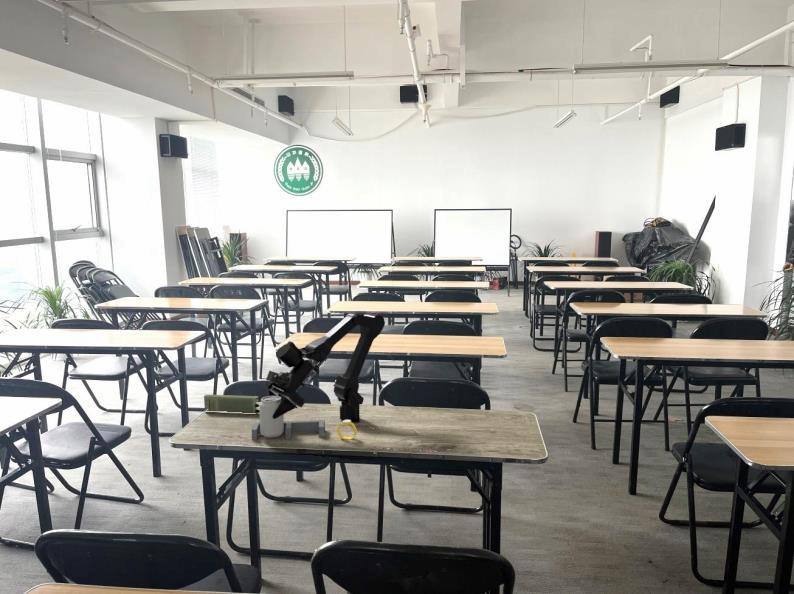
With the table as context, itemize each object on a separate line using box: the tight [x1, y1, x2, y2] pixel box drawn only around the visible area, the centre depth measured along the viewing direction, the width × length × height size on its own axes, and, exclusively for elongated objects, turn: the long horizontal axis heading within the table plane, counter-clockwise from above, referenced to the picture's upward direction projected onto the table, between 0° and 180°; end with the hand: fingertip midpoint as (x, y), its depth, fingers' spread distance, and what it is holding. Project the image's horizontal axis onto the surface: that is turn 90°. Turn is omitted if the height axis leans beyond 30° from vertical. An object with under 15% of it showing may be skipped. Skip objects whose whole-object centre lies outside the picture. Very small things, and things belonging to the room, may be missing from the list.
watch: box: [337, 420, 357, 440], centre depth 185 cm, size 6×3×6 cm, turn 77°
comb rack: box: [251, 419, 326, 441], centre depth 188 cm, size 23×7×4 cm, turn 97°
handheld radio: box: [203, 393, 260, 414], centre depth 211 cm, size 7×3×25 cm
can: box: [258, 395, 285, 438], centre depth 185 cm, size 8×8×12 cm
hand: (267, 415), depth 184 cm, fingers closed on can, 7 cm apart
